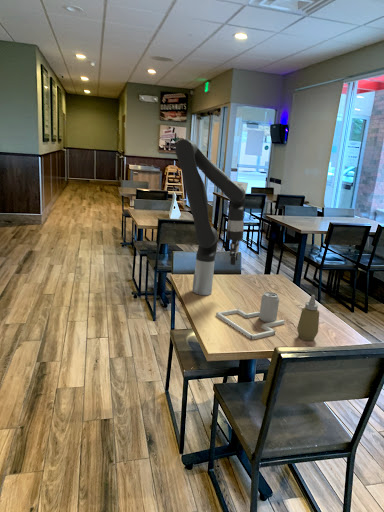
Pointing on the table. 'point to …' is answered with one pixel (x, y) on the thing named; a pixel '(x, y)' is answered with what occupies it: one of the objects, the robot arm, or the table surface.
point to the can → (269, 307)
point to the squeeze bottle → (309, 321)
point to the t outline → (264, 326)
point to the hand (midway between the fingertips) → (233, 262)
